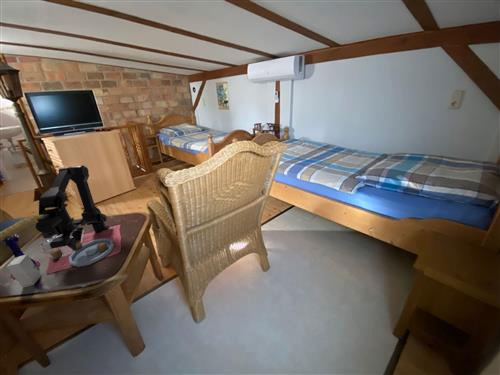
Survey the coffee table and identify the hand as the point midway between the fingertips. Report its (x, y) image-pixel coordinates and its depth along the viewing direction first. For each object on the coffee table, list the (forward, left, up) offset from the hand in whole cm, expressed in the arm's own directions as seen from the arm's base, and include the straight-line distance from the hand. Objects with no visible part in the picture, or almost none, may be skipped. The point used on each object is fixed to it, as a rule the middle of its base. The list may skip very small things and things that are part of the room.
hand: (77, 246), depth 101 cm
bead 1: (-4, -13, -6) cm, 15 cm away
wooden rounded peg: (0, +11, -5) cm, 12 cm away
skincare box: (+11, -15, -6) cm, 20 cm away
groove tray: (0, +5, -6) cm, 8 cm away
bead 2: (0, 0, -1) cm, 1 cm away
